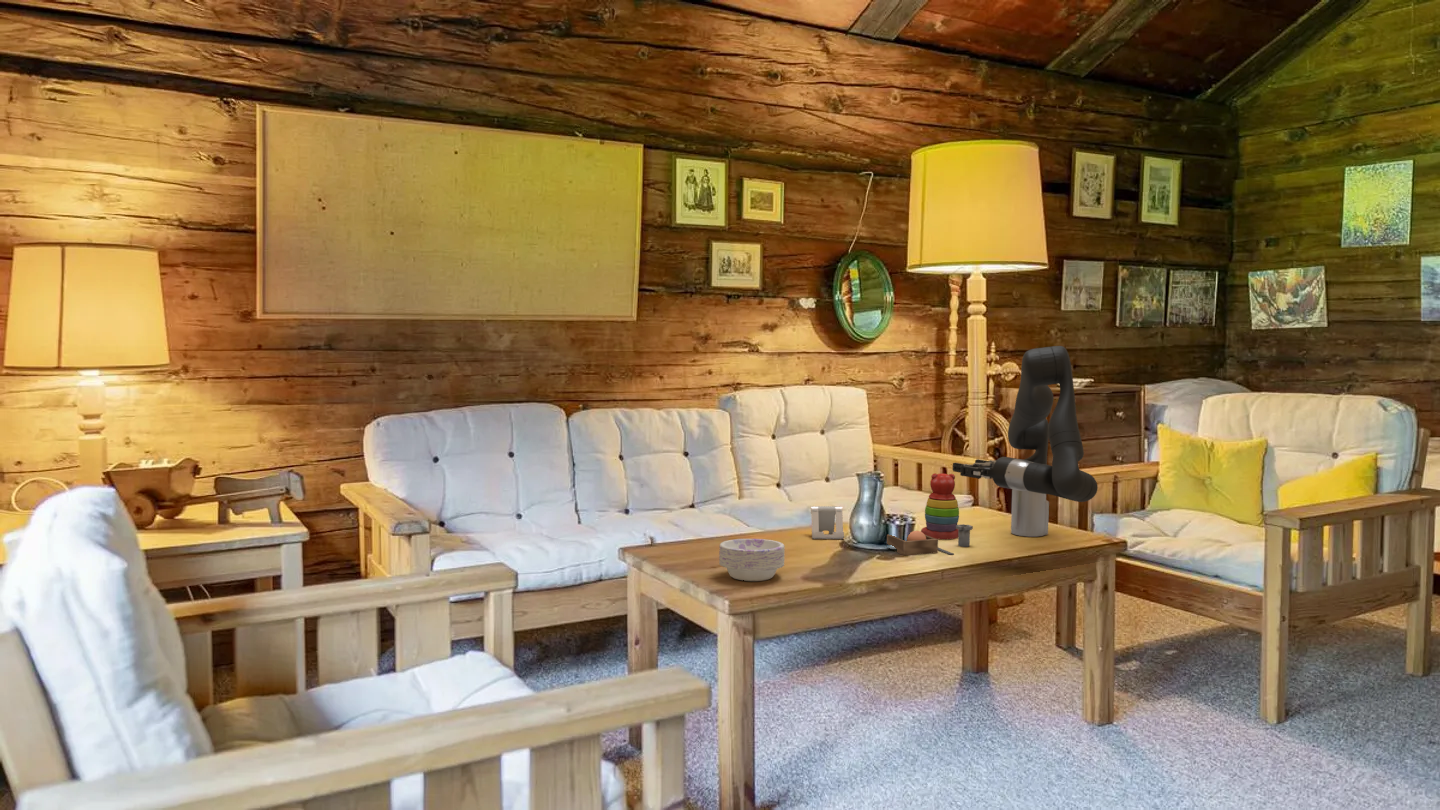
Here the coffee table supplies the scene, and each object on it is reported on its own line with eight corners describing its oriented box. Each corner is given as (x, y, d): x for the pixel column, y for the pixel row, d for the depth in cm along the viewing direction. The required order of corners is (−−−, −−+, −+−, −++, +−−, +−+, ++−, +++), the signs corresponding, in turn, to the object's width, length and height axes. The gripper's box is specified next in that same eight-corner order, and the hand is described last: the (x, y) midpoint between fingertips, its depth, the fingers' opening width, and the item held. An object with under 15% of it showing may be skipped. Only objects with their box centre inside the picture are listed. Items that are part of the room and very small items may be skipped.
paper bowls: (763, 566, 247) (763, 534, 247) (796, 580, 234) (797, 546, 233) (707, 573, 240) (707, 540, 239) (739, 588, 227) (739, 553, 226)
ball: (917, 541, 269) (925, 527, 266) (924, 554, 265) (932, 540, 262) (901, 540, 267) (909, 525, 264) (908, 553, 263) (916, 538, 260)
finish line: (921, 542, 276) (921, 541, 276) (953, 554, 261) (953, 553, 261) (917, 542, 275) (917, 541, 275) (949, 555, 260) (949, 553, 260)
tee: (966, 543, 274) (966, 524, 274) (973, 546, 270) (974, 526, 270) (953, 544, 273) (954, 524, 272) (961, 547, 269) (962, 527, 269)
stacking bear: (958, 533, 289) (959, 470, 287) (963, 540, 279) (964, 476, 277) (920, 532, 290) (921, 470, 288) (923, 539, 280) (924, 475, 278)
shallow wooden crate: (918, 545, 272) (918, 532, 272) (937, 552, 263) (937, 539, 263) (886, 547, 269) (886, 534, 269) (904, 555, 260) (905, 541, 260)
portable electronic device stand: (812, 540, 279) (812, 509, 278) (810, 534, 287) (810, 504, 286) (843, 540, 279) (844, 510, 278) (840, 534, 286) (841, 505, 286)
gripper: (1035, 456, 250) (983, 447, 263) (997, 461, 242) (946, 453, 255) (1034, 486, 251) (982, 476, 264) (997, 492, 243) (945, 482, 256)
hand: (964, 465), depth 260 cm, fingers open, 8 cm apart
